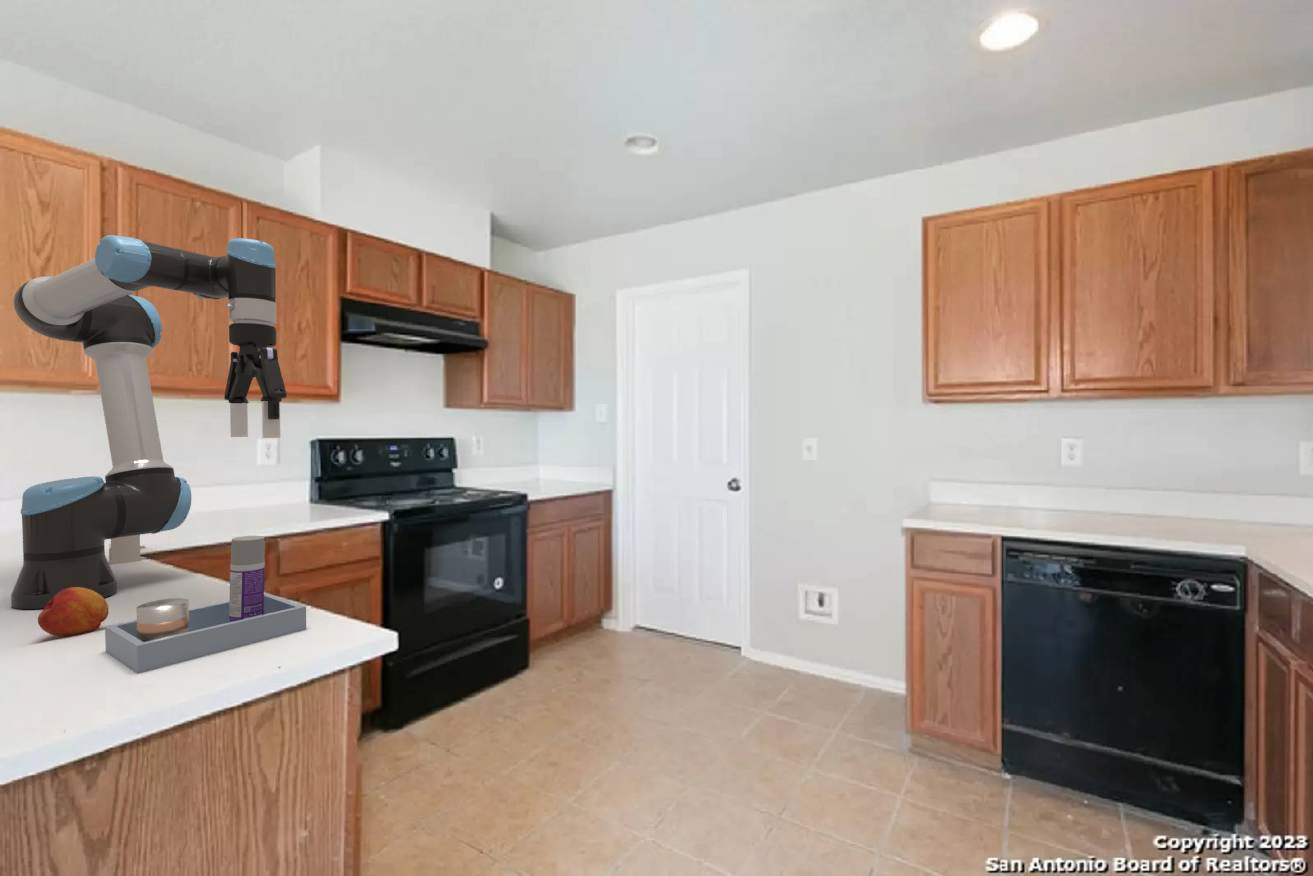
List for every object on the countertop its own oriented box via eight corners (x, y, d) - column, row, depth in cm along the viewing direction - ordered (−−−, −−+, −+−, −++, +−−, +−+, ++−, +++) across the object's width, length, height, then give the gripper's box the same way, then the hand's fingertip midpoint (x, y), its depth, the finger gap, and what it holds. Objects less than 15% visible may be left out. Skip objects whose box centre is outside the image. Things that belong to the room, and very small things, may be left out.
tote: (105, 656, 93) (105, 626, 93) (267, 618, 111) (266, 593, 111) (137, 679, 85) (137, 645, 84) (306, 633, 103) (306, 606, 102)
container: (266, 624, 105) (268, 535, 105) (260, 633, 100) (262, 539, 100) (232, 627, 103) (234, 536, 103) (225, 636, 99) (227, 541, 98)
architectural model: (108, 564, 155) (107, 534, 155) (144, 560, 160) (143, 531, 160) (110, 566, 153) (109, 536, 153) (146, 562, 158) (145, 532, 158)
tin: (131, 653, 92) (130, 605, 92) (181, 641, 97) (180, 596, 97) (145, 662, 88) (144, 612, 88) (196, 649, 93) (195, 602, 93)
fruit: (49, 633, 103) (48, 584, 103) (113, 625, 107) (112, 578, 107) (32, 647, 97) (31, 596, 96) (101, 638, 101) (100, 589, 100)
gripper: (203, 327, 122) (205, 436, 123) (261, 315, 108) (263, 438, 108) (246, 332, 128) (247, 436, 129) (306, 320, 114) (308, 437, 114)
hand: (254, 437), depth 119 cm, fingers open, 13 cm apart
